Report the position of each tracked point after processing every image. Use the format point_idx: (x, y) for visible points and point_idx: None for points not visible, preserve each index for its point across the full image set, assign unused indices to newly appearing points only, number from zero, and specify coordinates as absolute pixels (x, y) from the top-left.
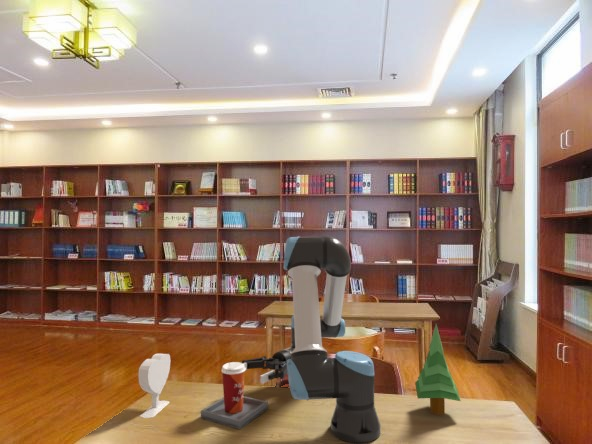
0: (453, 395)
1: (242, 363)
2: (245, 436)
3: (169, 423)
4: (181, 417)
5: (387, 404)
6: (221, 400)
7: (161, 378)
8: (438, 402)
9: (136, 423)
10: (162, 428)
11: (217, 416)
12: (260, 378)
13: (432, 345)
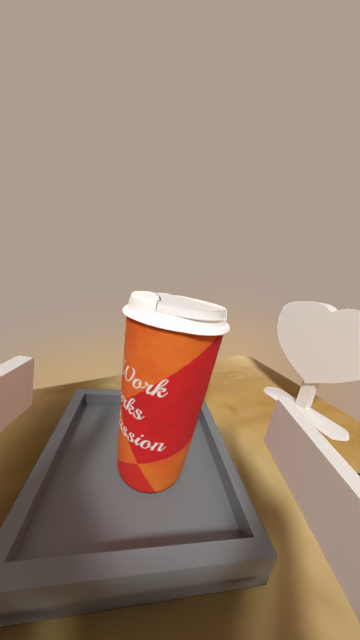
0: None
1: (166, 303)
2: (50, 391)
3: (222, 386)
4: (231, 403)
5: None
6: (221, 458)
7: (324, 357)
8: None
9: (254, 376)
10: (213, 376)
11: None
12: (29, 372)
13: None
